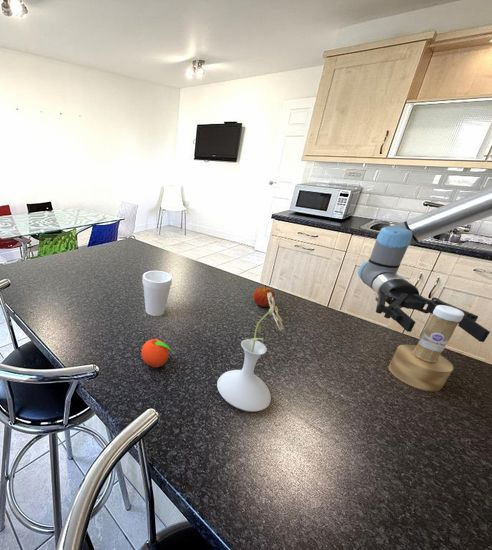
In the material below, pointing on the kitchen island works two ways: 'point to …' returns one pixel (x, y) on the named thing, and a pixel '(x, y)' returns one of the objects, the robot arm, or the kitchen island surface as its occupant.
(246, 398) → the flower in vase
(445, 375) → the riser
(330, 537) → the kitchen island surface
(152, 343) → the clementine
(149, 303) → the foam cup
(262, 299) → the fruit
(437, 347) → the sprinkles bottle
